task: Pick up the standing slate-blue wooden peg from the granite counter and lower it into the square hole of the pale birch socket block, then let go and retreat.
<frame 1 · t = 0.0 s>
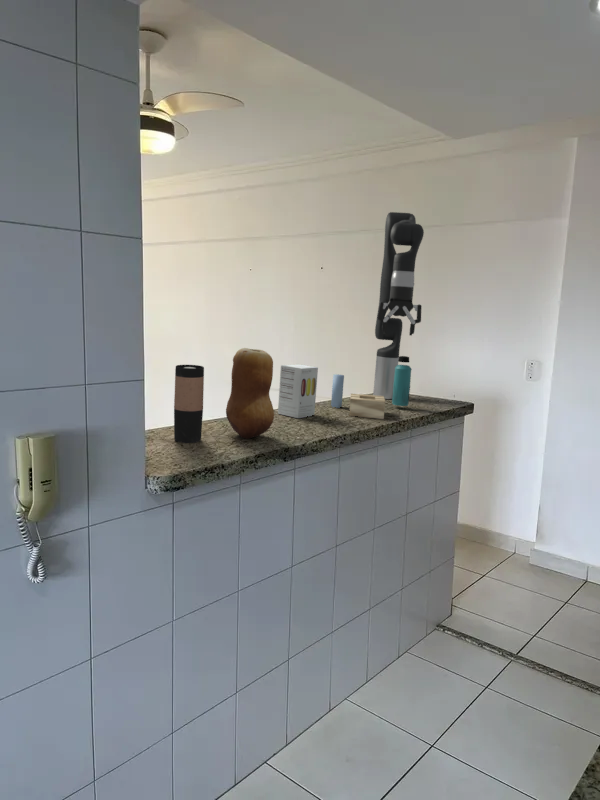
hand: (397, 334, 200), 29 cm above the worktop, tool pointing down, fingers open, 8 cm apart
socket block: (366, 414, 211), on the worktop
travel mug: (187, 440, 161), on the worktop
supplement box: (296, 415, 203), on the worktop
peg: (336, 407, 221), on the worktop
beverage bottle: (399, 408, 227), on the worktop
butternut squash: (248, 437, 168), on the worktop
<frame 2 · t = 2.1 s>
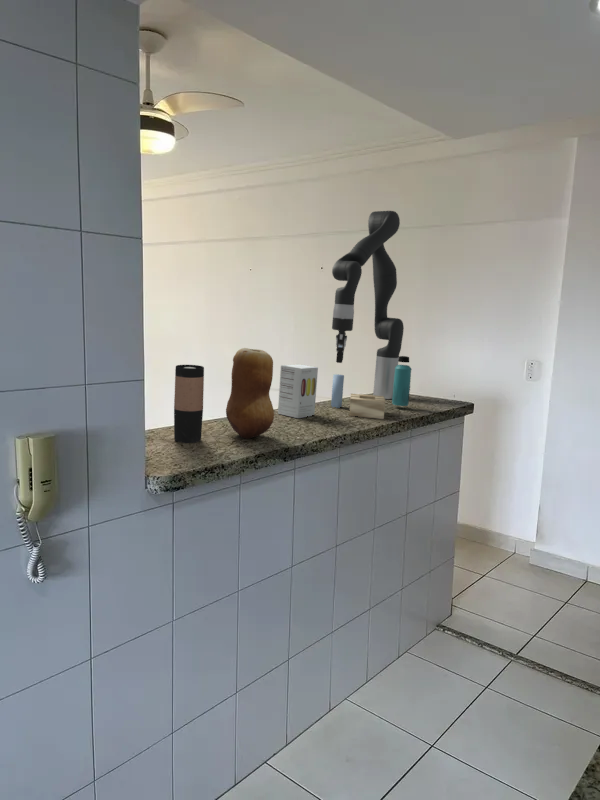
hand: (339, 361, 218), 17 cm above the worktop, tool pointing down, fingers open, 8 cm apart
nothing on the worktop moved.
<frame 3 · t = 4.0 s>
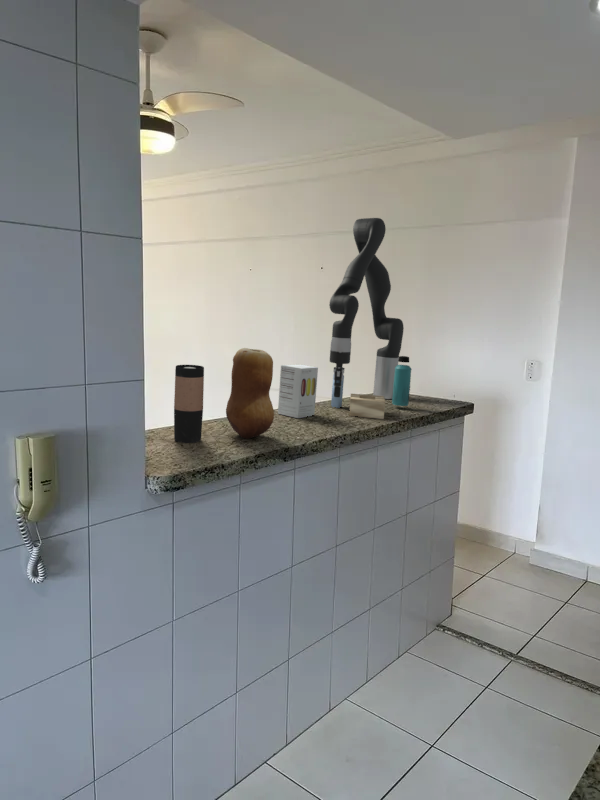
hand: (337, 395, 220), 4 cm above the worktop, tool pointing down, fingers closed on peg, 4 cm apart
peg: (336, 407, 221), on the worktop, touching gripper
everything else where it was.
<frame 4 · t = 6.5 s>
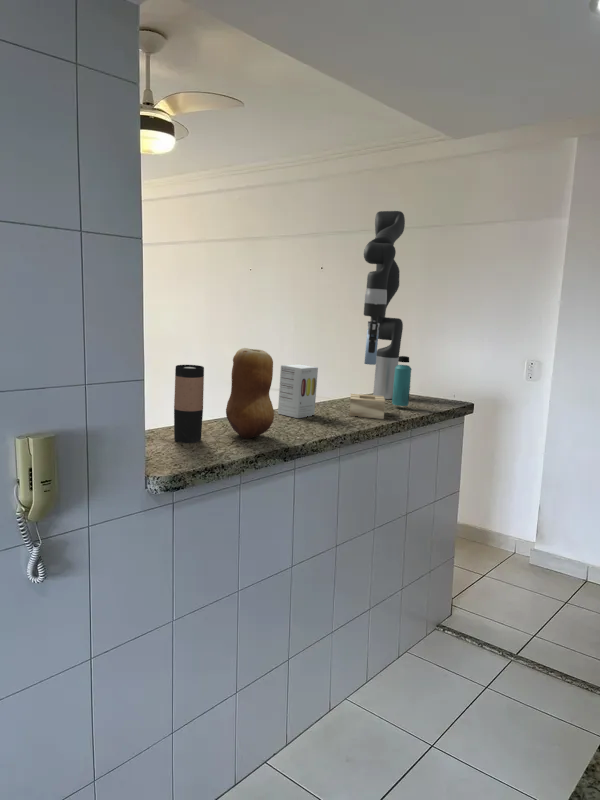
hand: (371, 351, 207), 22 cm above the worktop, tool pointing down, fingers closed on peg, 4 cm apart
peg: (370, 363, 208), point 18 cm above the worktop, touching gripper
everything else where it was.
when the fingers open (7 cm above the worktop, at t = 9.0 s): peg drops 2 cm, resting on socket block.
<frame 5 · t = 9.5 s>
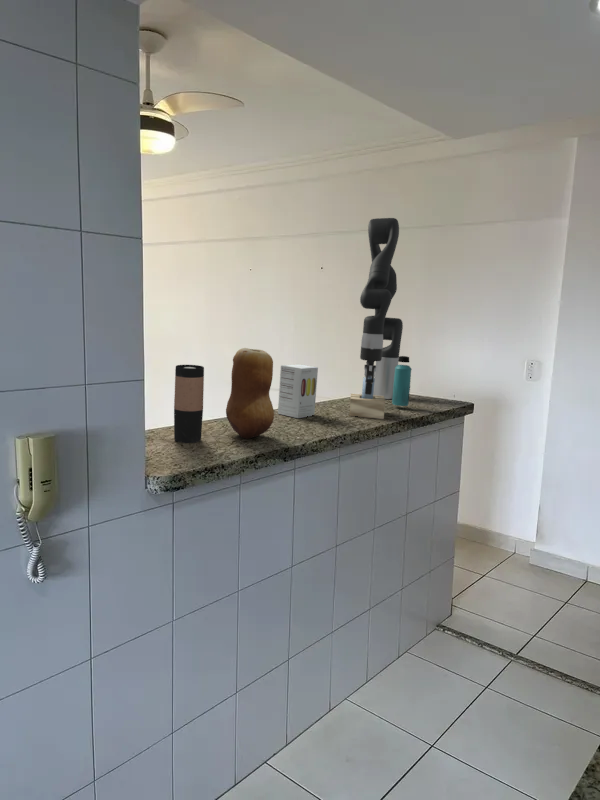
hand: (367, 392, 210), 8 cm above the worktop, tool pointing down, fingers open, 8 cm apart
peg: (366, 411, 211), point 1 cm above the worktop, touching socket block
everything else where it was.
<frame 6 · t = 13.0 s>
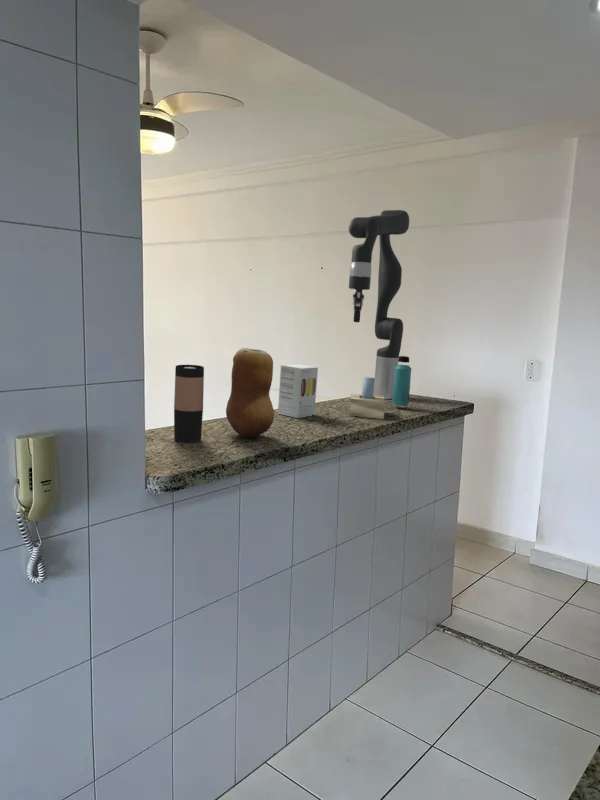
hand: (356, 321, 213), 32 cm above the worktop, tool pointing down, fingers open, 8 cm apart
nothing on the worktop moved.
at the end: peg 0.1 cm off-centre on the socket block, point 1.0 cm above the socket block's base; peg tilted 0°; the gripper is holding nothing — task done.
